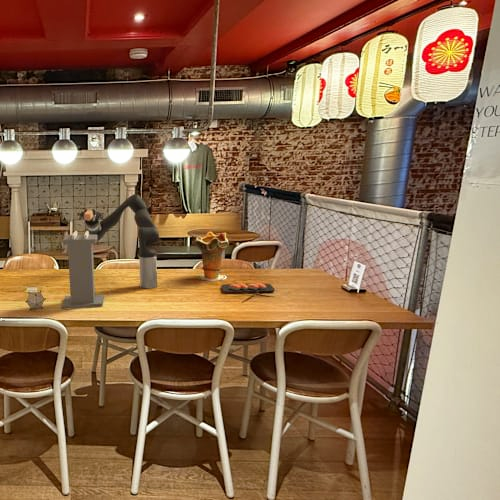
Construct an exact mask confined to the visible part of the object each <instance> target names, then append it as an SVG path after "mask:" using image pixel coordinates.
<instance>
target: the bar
mask: <svg viewBox="0 0 500 500" xmlns="http://www.w3.org/2000/svg"><path fill="white" fill-rule="evenodd" d="M92 217H93V211H92V210H89V209H87V211H86V213H85V214H84V221H85V220H91V219H92Z"/></svg>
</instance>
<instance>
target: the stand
mask: <svg viewBox="0 0 500 500" xmlns="http://www.w3.org/2000/svg"><path fill="white" fill-rule="evenodd" d="M97 242H98V241H97V234H92V235H89V231H86V230H85V233H84V234H78V231H77V230H75V231H74V232H73V233H72V234H66V235H65V236H64V238H63V239H62V245H67V256H68V257H67V258H68V259H67V261H68V275H69V292H70V293H69V294H70V295H68V296H64V298H63V301H62V303H61V305H60V309H61V310H66V309H67V308H70V309H82V308H101V307H103V306H104V298H105V295H104V293H102V294H96V292H95V291H96V288H95V269H94V268H95V267H94V265H95V263H94V244H97ZM67 310H68V309H67Z"/></svg>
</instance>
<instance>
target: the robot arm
mask: <svg viewBox="0 0 500 500" xmlns="http://www.w3.org/2000/svg"><path fill="white" fill-rule="evenodd" d="M128 207H129V209H131V211H132V212H133V213H134V215H133V216H134V217H133V218H134V222H135V224H136V226H137V227H138V231H137V237H138V238H137V239H138V254H139V256H138V258H139V287H140V288H141V289H142V288H143V289H153V288H157V287H158V270H157V264H158V263H157V251H156V250H155V249H151V248H149V247H147V245H154V244H157V243H159V241H160V233H159V230H158V228H157V226H156V225H155V223H154V222H153V219H152V217H151V215H150V213H149V211H148V208H147V203H146V202H145V201H144V200H143V198H142V197H141V196H140V195H139V194H138V193H134V194H131V195H130V196H129V197H128V198H126V200H124V201H123V202H122V203H121V204H120V205H119V206H117V208H115V210H114V211H112V213H109V215H108V216H106V217H105V218H104V214H102V213H101V212H100V211H97V212H96V209H94V208H92V211H93V217H92V219H91V220H84V214H85V213H86V211H87V210H88V208H85V209H84V211H81V212H80V213H79V214H78V220H84V223H85V227H86V229H85V232H86V231H89V235H92V234H97V241H96V242H98V241H101V240H102V239H103V237H104V236H105V235H106V233H107V232H108V231H109V230H110V229H112V228H113V227H115V226H116V225H117V224H118V223H119V222H120V220H121V218H122V215H123V213H124V211H125V210H126V209H127V208H128ZM99 220H101V221H99ZM100 228H101V229H100Z"/></svg>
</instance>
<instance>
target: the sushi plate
mask: <svg viewBox="0 0 500 500" xmlns="http://www.w3.org/2000/svg"><path fill="white" fill-rule="evenodd" d="M220 288H221V290H222V292H224V293H243V294H250V297H247V298H245V299H244V300H242V301H241V303H245V302H247V301H249V300H250V299H251V298H252V297H254V296H260V297H264V298H265V297H266V298H267V297H268V298H274V296H272V295H266V294H261V293H264V292H274V291H275V288H274V287H273V285H272V284H271V283H262V282H261V283H260V282H257V283H242V282H241V283H229V284H227V283H226V284H221V285H220ZM259 293H260V294H259Z"/></svg>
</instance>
